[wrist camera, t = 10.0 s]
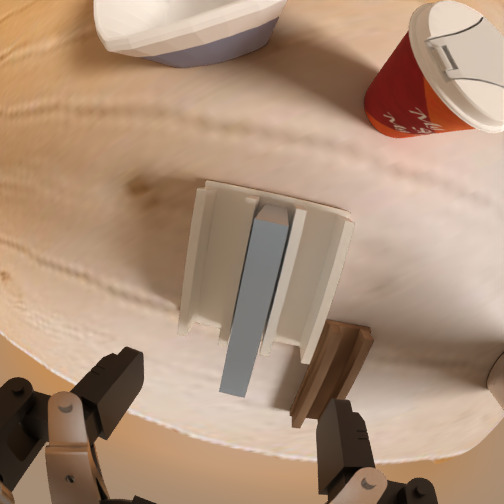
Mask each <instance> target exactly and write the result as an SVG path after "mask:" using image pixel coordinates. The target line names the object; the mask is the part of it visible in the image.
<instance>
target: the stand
mask: <svg viewBox="0 0 504 504" xmlns="http://www.w3.org/2000/svg"><path fill="white" fill-rule="evenodd" d="M370 333H371V329H370V328H369V327H364V326H358V325H353V324H347V323H342V322H336V321H331V320H326V321H325V324H324V327H323V330H322V333H321V335H320V338H319V341H318V344H317V346H316V349H315V352H314V354H313V357H312V359H311V362H310V364H309V367H308V369H307V372H306V374H305V377H304V379H303V382H302V384H301V386H300V389H299V391H298V394H297V396H296V398H295V400H294V403H293V405H292V407H291V410H290V416H292V427H293V428H300V427H301V425H302V423H303V421H304V420H305V418H311V419H318V422H319V420H320V418H321V416H322V415H323V413H324V411H325V409H326V407H327V405H328V403H329V401H330V400H331V399H342V400H345V398H346V396H347V394H348V392H349V391H350V389H351V387H352V385H353V383H354V381H355V379H356V377H357V375H358V373H359V371H360V369H361V367H362V365H363V363H364V361H365V359H366V357H367V355H368V352H369V350H370V348H371V346H372V344H373V341H374V340H373V338H372V336H371V334H370Z"/></svg>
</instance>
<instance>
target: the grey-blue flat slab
mask: <svg viewBox="0 0 504 504" xmlns="http://www.w3.org/2000/svg"><path fill="white" fill-rule="evenodd" d="M288 228H289V223H288V215H287V208H285V207H280V206H276V205H271V204H267V203H266V204H265V205H264V207H263V208H262V209H261V211H260V212H259V213H258V215H257V216H256V217H255V219H254V224H253V229H252V233H251V238H250V243H249V248H248V253H247V258H246V262H245V267H244V272H243V277H242V282H241V287H240V292H239V296H238V301H237V306H236V311H235V316H234V321H233V326H232V331H231V336H230V341H229V345H228V350H227V355H226V360H225V365H224V370H223V375H222V380H221V385H220V390H219V392H222V393H226V394H231V395H235V396H239V397H244V398H245V395H246V391H247V388H248V384H249V380H250V377H251V373H252V370H253V366H254V362H255V359H256V355H257V351H258V348H259V344H260V340H261V337H262V333H263V329H264V325H265V321H266V318H267V314H268V310H269V306H270V302H271V298H272V294H273V290H274V286H275V282H276V278H277V274H278V270H279V266H280V262H281V258H282V254H283V249H284V245H285V241H286V237H287V232H288Z"/></svg>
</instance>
